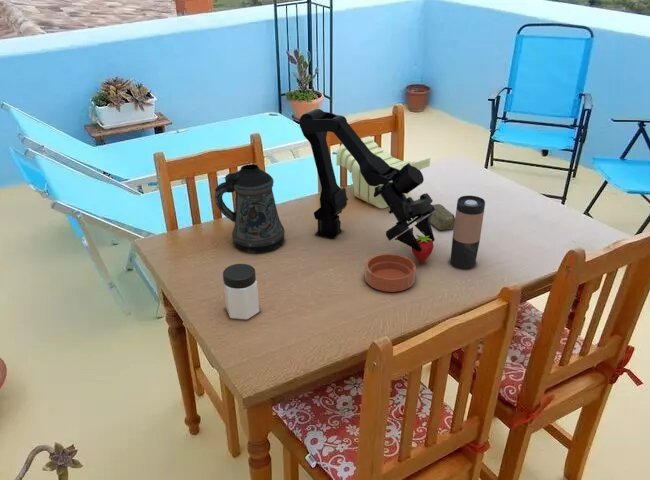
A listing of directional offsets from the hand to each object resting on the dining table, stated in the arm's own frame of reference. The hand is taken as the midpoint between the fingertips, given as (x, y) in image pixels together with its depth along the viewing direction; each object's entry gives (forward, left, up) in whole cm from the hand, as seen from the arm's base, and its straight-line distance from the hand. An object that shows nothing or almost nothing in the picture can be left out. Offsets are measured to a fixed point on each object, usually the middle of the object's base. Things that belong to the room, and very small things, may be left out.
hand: (426, 246), depth 169 cm
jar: (-35, -44, -6) cm, 57 cm away
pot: (-6, -13, -6) cm, 15 cm away
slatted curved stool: (-29, +37, -6) cm, 48 cm away
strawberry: (-1, 0, -6) cm, 6 cm away
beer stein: (-52, -11, -6) cm, 54 cm away
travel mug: (+10, +5, -6) cm, 13 cm away
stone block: (-4, +27, -6) cm, 28 cm away
